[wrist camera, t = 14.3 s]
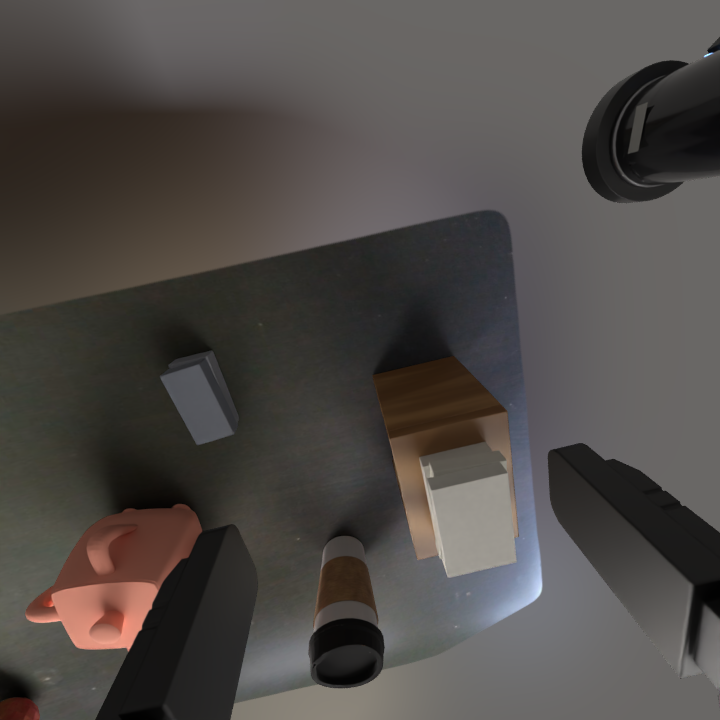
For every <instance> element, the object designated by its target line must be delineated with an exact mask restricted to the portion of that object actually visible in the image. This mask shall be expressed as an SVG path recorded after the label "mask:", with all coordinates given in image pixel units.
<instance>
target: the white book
mask: <svg viewBox="0 0 720 720" xmlns="http://www.w3.org/2000/svg"><path fill="white" fill-rule="evenodd" d="M427 483H428V488H429V493H430V498H431V503H432V508H433V513H434V518H435V523H436V528H437V534H438V539H439V544H440V549H441V554H442V559H443V564H444V567H445V570H446V573H447V576H448V578H450V577H454V576H458V575H463V574H467V573H472V572H476V571H480V570H485V569H489V568H493V567H498V566H502V565H506V564H511V563H515V562H516V551H515V541H514V531H513V520H512V510H511V500H510V489H509V479H508V472H507V471H506V469H505V468H504V467H503V465H502V464H501V463H500V462H495V463H491V464H487V465H483V466H478V467H474V468H470V469H465V470H461V471H457V472H453V473H448V474H444V475H440V476H435V477H431V478H427Z"/></svg>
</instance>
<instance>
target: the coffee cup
mask: <svg viewBox="0 0 720 720" xmlns="http://www.w3.org/2000/svg"><path fill="white" fill-rule="evenodd" d="M313 627H314V633H313V635H312V636H311V639H310V641H309V657H310V670H311V676H312V679H313V680H314V681H315V682H316V683H317V684H319V685H322V686H325V687H330V688H351V687H357V686H361V685H364V684H366V683H368V682H370V681H372V680H373V679H375V678H376V677H377V676H378V675H379V674H380V672H381V670H382V668H383V654H384V648H385V647H384V639H383V635H382V633H381V631H380V630H379V629H378V615H377V610H376V605H375V601H374V596H373V591H372V586H371V581H370V576H369V572H368V568H367V563H366V557H365V552H364V547H363V545H362V543H361V542H360V541H359V540H358V539H356V538H354V537H351V536H339V537H336V538H333V539H332V540H330V541H329V542H328V543H327V544H326V546H325V547H324V551H323V559H322V567H321V573H320V580H319V587H318V594H317V600H316V607H315V614H314V621H313Z"/></svg>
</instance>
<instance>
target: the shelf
mask: <svg viewBox="0 0 720 720" xmlns="http://www.w3.org/2000/svg"><path fill="white" fill-rule="evenodd" d="M372 376H373V380H374V385H375V389H376V392H377V396H378V400H379V404H380V407H381V411H382V415H383V419H384V422H385V426H386V430H387V434H388V438H389V441H390V445H391V449H392V454H393V458H394V460H392V462H393V466H394V470H395V474H396V478H397V482H398V486H399V490H400V494H401V498H402V502H403V506H404V510H405V513H406V517H407V521H408V525H409V529H410V533H411V537H412V541H413V545H414V549H415V553H416V557H417V560H420V559H425V558H429V557H433V556H438V555H439V554H438V551H437V548H436V540H435V534H434V529H433V524H432V519H431V514H430V509H429V504H428V499H427V494H426V489H425V484H424V479H423V474H422V469H421V464H420V459H419V457H422V456H426V455H430V454H434V453H439V452H443V451H447V450H451V449H456V448H460V447H464V446H468V445H473V444H477V443H481V442H486V443H487V444H488V446H489V447H490V448H491V450H492V451H498V450H499V451H500V452H501V453H502V455H503V456H504V457H505V459H506V460H507V472H508V479H509V489H510V500H511V510H512V520H513V531H514V538H516V537H519V533H518V522H517V511H516V500H515V489H514V479H513V468H512V457H511V446H510V435H509V424H508V413H507V410H506V409H505V408H504V407H503V406H502V405H501V404H500V403H499V402H498V401H497V400H496V399H495V398H494V397H493V396H492V395H491V394H490V393H489V392H488V391H487V389H486V388H485V387H484V386H483V385H482V384H481V383H480V382H479V381H478V380H477V379H476V378H475V377H474V376H473V375H472V374H471V373H470V372H469V371H468V370H467V369H466V368H465V367H464V366H463V365H462V364H461V363H460V362H459V361H458V360H457V359H456V358H455V357H454V356H451V357H447V358H442V359H438V360H434V361H430V362H426V363H421V364H417V365H413V366H409V367H405V368H400V369H396V370H392V371H388V372H384V373H379V374H375V375H372Z"/></svg>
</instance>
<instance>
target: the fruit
mask: <svg viewBox="0 0 720 720" xmlns="http://www.w3.org/2000/svg"><path fill="white" fill-rule="evenodd" d="M39 718H40V715H39V710H38V707H37V706H36V705H35V703H34V702H33V701H32V700H30V699H27V698H26V697H24V698H21V697H15V698H8V699H6V700H4V701H2V702H0V720H39Z"/></svg>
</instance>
